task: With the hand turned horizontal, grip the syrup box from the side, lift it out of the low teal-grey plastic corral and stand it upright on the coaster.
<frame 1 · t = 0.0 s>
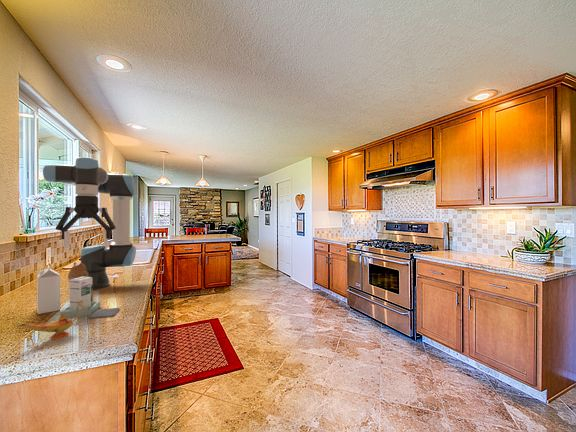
hand: (86, 247, 113), 28 cm above the countertop, tool pointing down, fingers open, 13 cm apart
corral: (81, 311, 116), on the countertop
cat ice cream: (78, 299, 132), on the countertop
magic lamp: (53, 337, 92), on the countertop
milk carton: (48, 310, 117), on the countertop
coaster: (104, 313, 114), on the countertop
syrup box: (81, 312, 116), resting in corral
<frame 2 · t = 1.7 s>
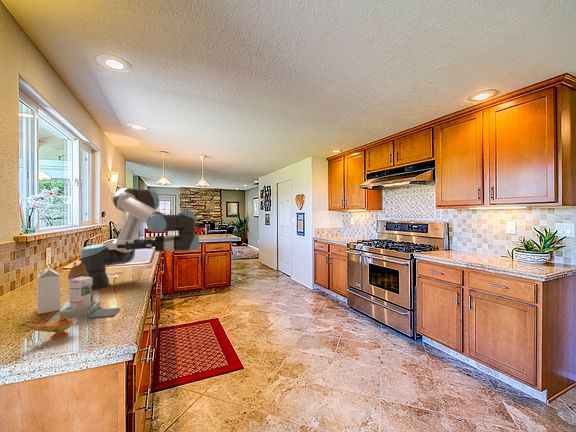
hand: (113, 244, 123), 28 cm above the countertop, tool horizontal, fingers open, 13 cm apart
nothing on the countertop moved.
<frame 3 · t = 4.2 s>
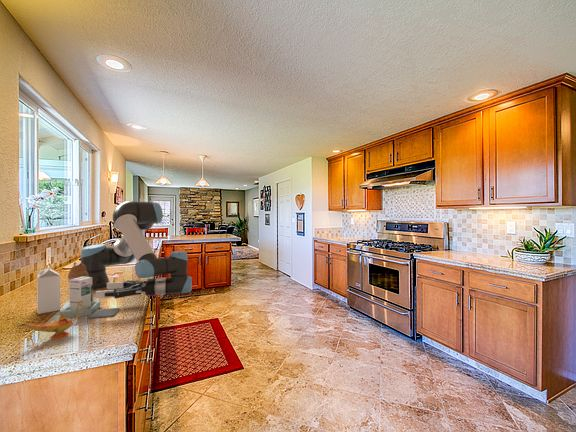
hand: (101, 290, 118), 9 cm above the countertop, tool horizontal, fingers open, 13 cm apart
nothing on the countertop moved.
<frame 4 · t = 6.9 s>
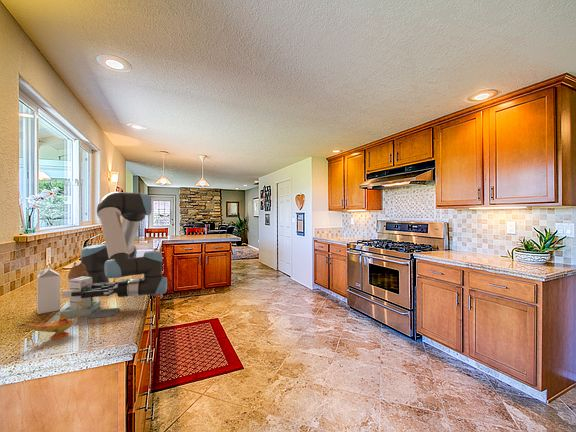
hand: (67, 291, 114), 9 cm above the countertop, tool horizontal, fingers closed on syrup box, 7 cm apart
syrup box: (81, 312, 116), resting in corral, touching gripper
everything else where it was.
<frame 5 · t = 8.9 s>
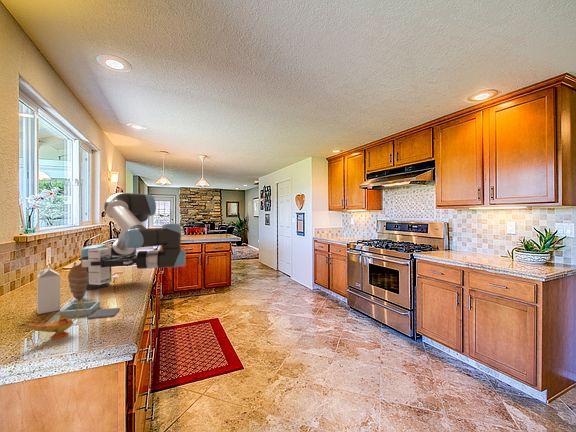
hand: (86, 262, 112), 22 cm above the countertop, tool horizontal, fingers closed on syrup box, 7 cm apart
syrup box: (100, 283, 114), point 13 cm above the countertop, touching gripper
everything else where it was.
when the fingers open (11 cm above the countertop, at t = 11.3 s): syrup box drops 1 cm, resting on coaster.
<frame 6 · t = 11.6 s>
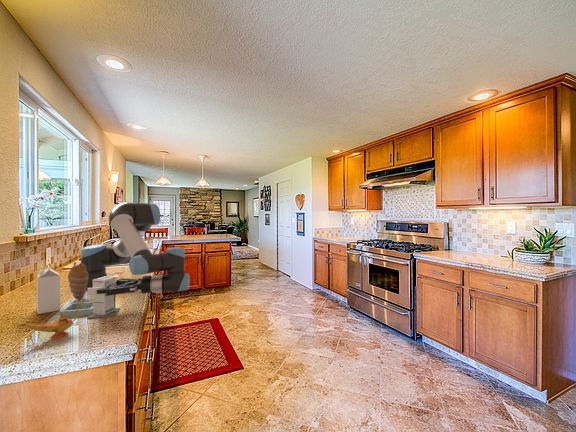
hand: (93, 287, 113), 11 cm above the countertop, tool horizontal, fingers open, 11 cm apart
syrup box: (104, 312, 114), resting on coaster
everything else where it was.
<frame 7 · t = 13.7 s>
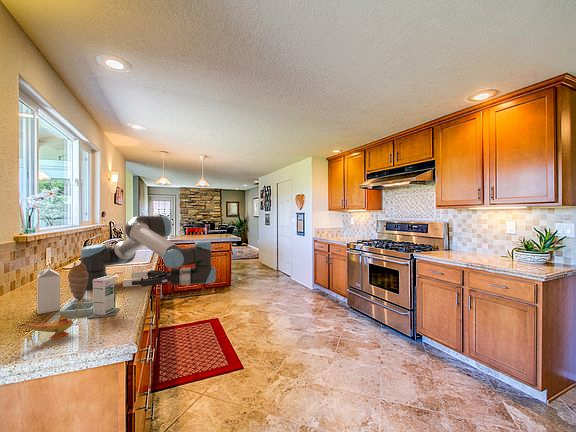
hand: (127, 278, 117), 14 cm above the countertop, tool horizontal, fingers open, 13 cm apart
nothing on the countertop moved.
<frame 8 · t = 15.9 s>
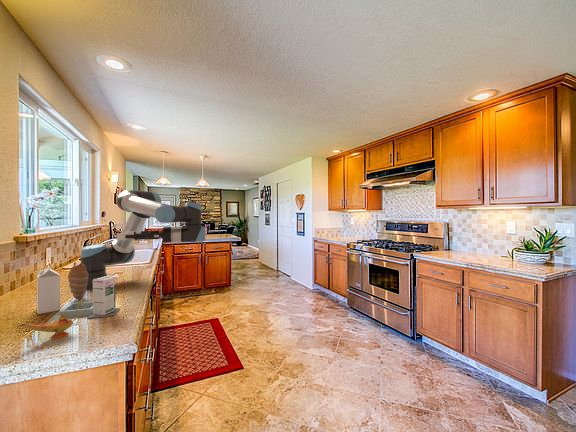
hand: (121, 235, 124), 32 cm above the countertop, tool horizontal, fingers open, 13 cm apart
nothing on the countertop moved.
at the end: syrup box inside the target area on the coaster (0.1 cm from its centre), point 0.4 cm above the coaster's base; syrup box tilted 0°; the gripper is holding nothing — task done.
